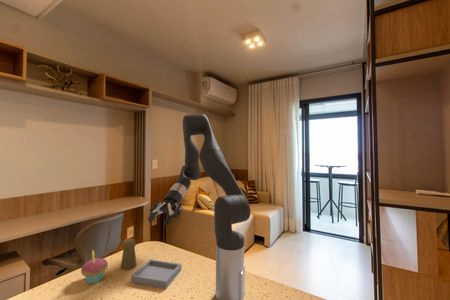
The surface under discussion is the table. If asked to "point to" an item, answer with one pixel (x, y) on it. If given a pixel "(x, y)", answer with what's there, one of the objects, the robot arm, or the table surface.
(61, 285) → the table surface
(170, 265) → the gray tray
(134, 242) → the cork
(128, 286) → the table surface
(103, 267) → the cupcake
